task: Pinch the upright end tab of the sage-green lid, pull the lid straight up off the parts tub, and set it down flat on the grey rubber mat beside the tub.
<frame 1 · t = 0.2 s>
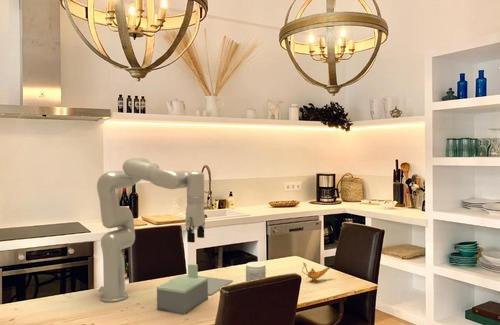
hand: (196, 239, 180), 31 cm above the table, tool pointing down, fingers open, 9 cm apart
lid: (183, 284, 188), point 9 cm above the table, touching parts tub
supplement tub: (255, 294, 201), on the table
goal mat: (203, 285, 215), on the table
magic lamp: (316, 281, 221), on the table
parts tub: (183, 304, 189), on the table
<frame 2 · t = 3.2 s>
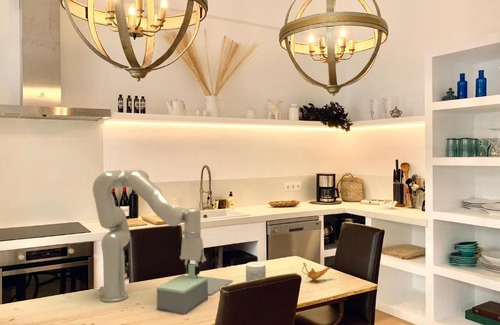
hand: (192, 273, 196), 12 cm above the table, tool pointing down, fingers closed on lid, 4 cm apart
lid: (183, 284, 188), point 9 cm above the table, touching gripper, parts tub
everything else where it was.
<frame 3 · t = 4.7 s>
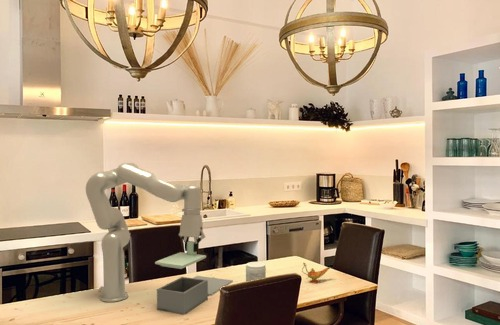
hand: (191, 250, 196), 23 cm above the table, tool pointing down, fingers closed on lid, 4 cm apart
lid: (181, 260, 188), point 20 cm above the table, touching gripper
everything else where it was.
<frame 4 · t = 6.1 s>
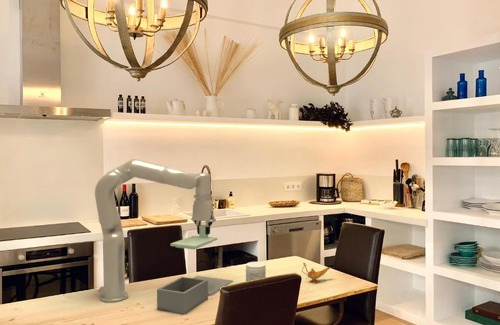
hand: (203, 233, 210), 28 cm above the table, tool pointing down, fingers closed on lid, 4 cm apart
lid: (194, 242, 203), point 25 cm above the table, touching gripper
everything else where it was.
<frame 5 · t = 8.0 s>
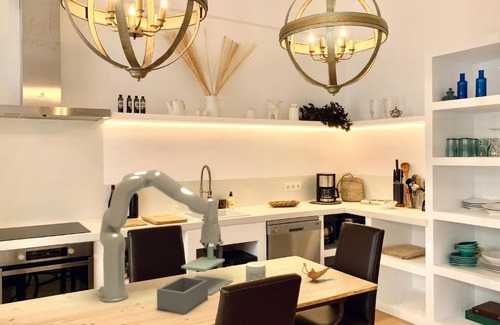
hand: (211, 255, 223), 14 cm above the table, tool pointing down, fingers closed on lid, 4 cm apart
lid: (203, 264, 215), point 11 cm above the table, touching gripper
everything else where it was.
when the fingers open (8 cm above the table, at t = 9.3 s): lid drops 4 cm, resting on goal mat.
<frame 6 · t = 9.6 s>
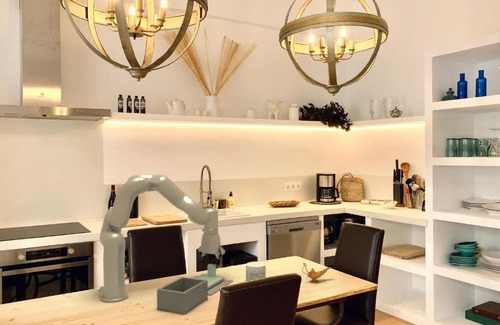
hand: (211, 264, 223), 9 cm above the table, tool pointing down, fingers open, 7 cm apart
lid: (203, 282, 216), point 2 cm above the table, touching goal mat
everything else where it was.
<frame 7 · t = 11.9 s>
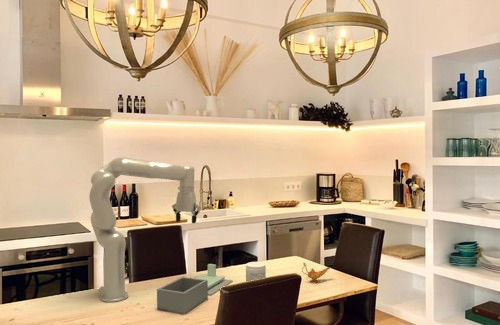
hand: (186, 222, 220), 32 cm above the table, tool pointing down, fingers open, 9 cm apart
nothing on the table moved.
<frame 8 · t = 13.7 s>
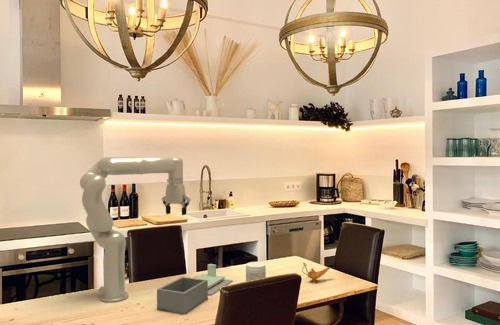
hand: (176, 214, 219), 36 cm above the table, tool pointing down, fingers open, 9 cm apart
nothing on the table moved.
at the end: lid inside the target area on the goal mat (0.4 cm from its centre), point 1.6 cm above the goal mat's base; lid tilted 0°; the gripper is holding nothing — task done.
